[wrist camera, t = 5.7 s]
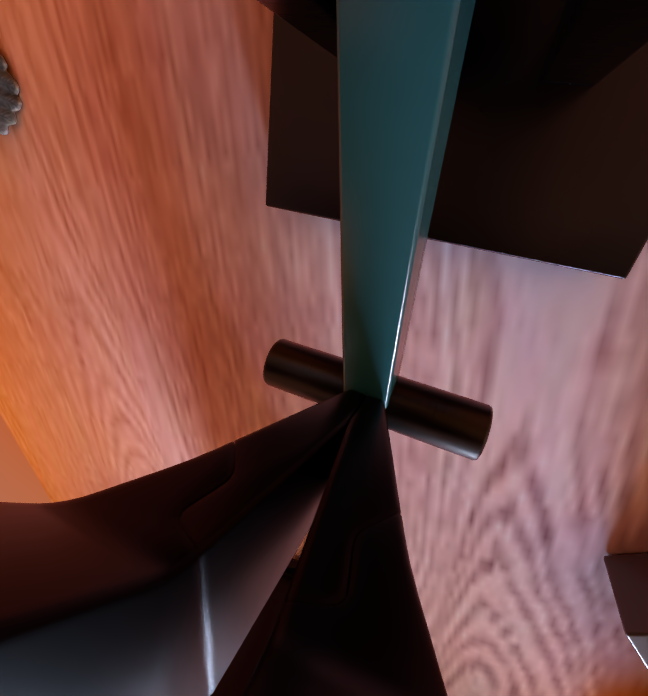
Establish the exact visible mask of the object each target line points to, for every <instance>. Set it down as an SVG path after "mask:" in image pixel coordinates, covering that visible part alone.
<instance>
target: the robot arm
mask: <svg viewBox="0 0 648 696" xmlns="http://www.w3.org/2000/svg"><path fill="white" fill-rule="evenodd" d="M400 514H401V510H400V503H399V497H398V490H397V484H396V477H395V470H394V464H393V457H392V451H391V444H390V438H389V431H388V424H387V418H386V411H385V405H384V402H383V401H382V400H380V399H377V398H374V397H371V396H367V397H366V396H365V395H364V394H362V393H359V392H356V391H353V390H347V391H345V392H343V393H341V394H338V395H336V396H334V397H332V398H329V399H327V400H325V401H323V402H320V403H318V404H316V405H314V406H312V407H309V408H307V409H305V410H303V411H300V412H298V413H296V414H294V415H291V416H289V417H287V418H285V419H282V420H280V421H278V422H276V423H274V424H271V425H269V426H267V427H265V428H262V429H260V430H258V431H256V432H253V433H251V434H249V435H247V436H245V437H242V438H240V439H238V440H236V441H235V443H234V442H231V443H229V444H226V445H224V446H222V447H220V448H217V449H215V450H213V451H210V452H208V453H205V454H203V455H201V456H198V457H196V458H193V459H191V460H188V461H185V462H183V463H180V464H177V465H174V466H172V467H169V468H166V469H163V470H161V471H158V472H155V473H152V474H149V475H146V476H143V477H140V478H137V479H134V480H131V481H129V482H126V483H123V484H120V485H117V486H114V487H111V488H108V489H105V490H102V491H99V492H96V493H94V494H90V495H87V496H84V497H80V498H76V499H72V500H67V501H61V502H55V503H41V504H37V503H35V504H34V503H8V502H0V696H447V693H446V689H445V686H444V682H443V679H442V676H441V672H440V669H439V665H438V662H437V658H436V655H435V651H434V648H433V644H432V641H431V637H430V634H429V631H428V627H427V624H426V620H425V617H424V613H423V610H422V606H421V603H420V599H419V596H418V592H417V588H416V584H415V580H414V577H413V573H412V569H411V565H410V561H409V556H408V550H407V545H406V540H405V535H404V528H403V522H402V516H401V515H400ZM309 529H310V530H309ZM308 530H309V533H308V536H307V539H306V541H305V544H304V547H303V550H302V552H301V555H300V558H299V561H295V560H291V559H292V558H293V556H294V554H295V552H296V551H297V549H298V547H299V546H300V544H301V542H302V541H303V539H304V537H305V535H306V534H307V532H308Z"/></svg>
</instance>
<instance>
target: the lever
mask: <svg viewBox="0 0 648 696" xmlns="http://www.w3.org/2000/svg"><path fill="white" fill-rule="evenodd" d="M475 1H476V0H336V14H337V68H338V122H339V177H340V231H341V285H342V340H343V358H341V357H338V356H335V355H332V354H329V353H326V352H322V351H319V350H316V349H313V348H310V347H307V346H304V345H301V344H298V343H294V342H291V341H288V340H285V339H281V340H278V341H277V342H276V343H275V344H274V345H273V346H272V348H271V349H270V351H269V353H268V355H267V358H266V361H265V365H264V370H263V377H264V381H265V383H266V384H268V385H270V386H272V387H275V388H278V389H281V390H283V391H286V392H289V393H291V394H294V395H297V396H300V397H302V398H305V399H308V400H310V401H313V402H316V403H320V402H323V401H325V400H327V399H329V398H332V397H334V396H336V395H338V394H341V393H343V392H345V391H347V390H353V391H356V392H359V393H362V394H364V395H365V396H366V397H367V396H371V397H374V398H377V399H380V400H382V401H383V402H384V405H385V411H386V418H387V424H388V429H389V430H392V431H395V432H397V433H400V434H403V435H406V436H408V437H411V438H414V439H416V440H419V441H422V442H425V443H427V444H430V445H433V446H436V447H438V448H441V449H444V450H446V451H449V452H452V453H455V454H457V455H460V456H463V457H465V458H468V459H471V460H477V459H478V457H479V456H480V455H481V453H482V451H483V449H484V447H485V444H486V442H487V439H488V436H489V432H490V428H491V424H492V417H493V411H492V407H491V406H490V405H487V404H484V403H481V402H478V401H475V400H472V399H469V398H466V397H462V396H459V395H456V394H453V393H450V392H447V391H444V390H441V389H438V388H434V387H431V386H428V385H425V384H422V383H419V382H416V381H413V380H410V379H406V378H403V377H400V376H399V373H400V368H401V363H402V358H403V354H404V349H405V344H406V339H407V334H408V329H409V324H410V319H411V314H412V309H413V305H414V300H415V295H416V290H417V285H418V280H419V275H420V270H421V265H422V261H423V256H424V251H425V246H426V241H427V236H428V231H429V226H430V221H431V217H432V212H433V207H434V202H435V197H436V192H437V187H438V182H439V177H440V172H441V168H442V163H443V158H444V153H445V148H446V143H447V138H448V133H449V128H450V124H451V119H452V114H453V109H454V104H455V99H456V94H457V89H458V84H459V79H460V75H461V70H462V65H463V60H464V55H465V50H466V45H467V40H468V35H469V31H470V26H471V21H472V16H473V11H474V6H475Z"/></svg>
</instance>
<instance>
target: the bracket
mask: <svg viewBox="0 0 648 696" xmlns="http://www.w3.org/2000/svg"><path fill="white" fill-rule="evenodd" d="M257 1H259V2H260V3H261V4H263V5H264V6H266V7H267V8H268V9H270V10H271V11H273V12H274V21H273V45H272V69H271V93H270V117H269V141H268V165H267V189H266V205H267V206H269V207H274V208H279V209H284V210H289V211H294V212H299V213H304V214H308V215H313V216H318V217H323V218H328V219H333V220H338V221H340V177H339V122H338V68H337V14H336V0H257ZM427 239H430V240H435V241H440V242H445V243H450V244H455V245H460V246H465V247H470V248H474V249H479V250H484V251H489V252H494V253H499V254H504V255H509V256H513V257H518V258H523V259H528V260H533V261H538V262H543V263H548V264H553V265H557V266H562V267H567V268H572V269H577V270H582V271H587V272H592V273H596V274H601V275H606V276H611V277H616V278H621V279H625V278H626V277H627V276H628V274H629V272H630V270H631V269H632V267H633V265H634V263H635V261H636V260H637V258H638V256H639V254H640V252H641V251H642V249H643V247H644V245H645V243H646V242H647V240H648V0H476V1H475V6H474V11H473V16H472V21H471V26H470V31H469V35H468V40H467V45H466V50H465V55H464V60H463V65H462V70H461V75H460V79H459V84H458V89H457V94H456V99H455V104H454V109H453V114H452V119H451V124H450V128H449V133H448V138H447V143H446V148H445V153H444V158H443V163H442V168H441V172H440V177H439V182H438V187H437V192H436V197H435V202H434V207H433V212H432V217H431V221H430V226H429V231H428V236H427Z"/></svg>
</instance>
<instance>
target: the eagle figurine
mask: <svg viewBox="0 0 648 696" xmlns="http://www.w3.org/2000/svg"><path fill="white" fill-rule="evenodd" d="M7 67H8V65H7V63H6V61H5V59H4V58H3V56H2V55H1V54H0V134H3V135H7V134H8V126H10V125H15V124H16V123H17V118H16V115H15V111H19V110H20V109H21V106H22V102H21V100H20V98H19V97H18V93H19V89H20V88H19V86H18V84H17V82H16V80H15V79H14V78H13V77H12V76H11V75H10V74H9V73H8V72H7V70H6V69H7Z"/></svg>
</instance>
